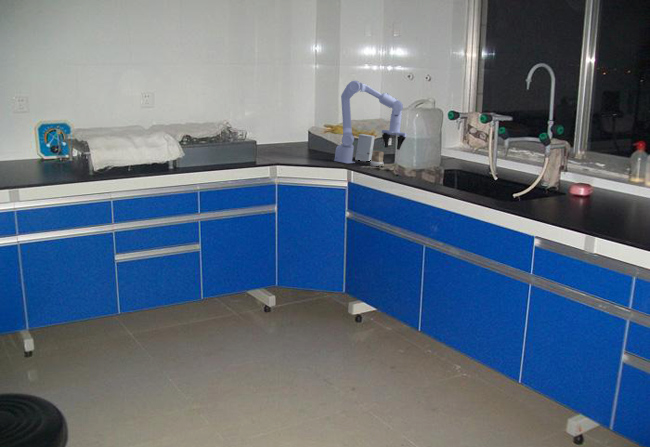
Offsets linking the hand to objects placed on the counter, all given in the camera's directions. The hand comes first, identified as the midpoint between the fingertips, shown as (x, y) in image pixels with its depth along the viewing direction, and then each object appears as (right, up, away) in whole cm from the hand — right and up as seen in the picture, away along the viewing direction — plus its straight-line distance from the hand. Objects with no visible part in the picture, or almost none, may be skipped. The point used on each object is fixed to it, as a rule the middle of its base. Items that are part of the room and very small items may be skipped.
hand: (392, 148), depth 369 cm
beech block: (-8, -7, +2) cm, 11 cm away
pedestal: (-8, -9, +3) cm, 13 cm away
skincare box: (-14, -5, +20) cm, 25 cm away
